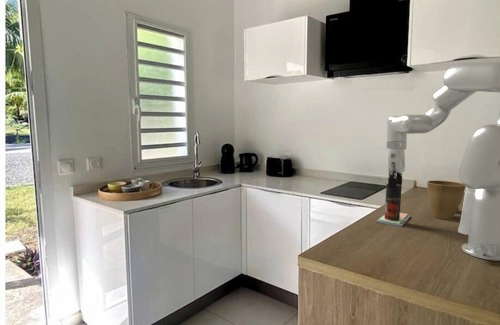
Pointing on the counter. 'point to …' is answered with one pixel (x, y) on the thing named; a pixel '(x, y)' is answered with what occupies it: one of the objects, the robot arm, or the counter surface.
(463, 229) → the cosmetic bottle
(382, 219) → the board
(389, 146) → the robot arm
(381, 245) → the counter surface
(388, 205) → the deodorant
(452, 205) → the plant pot
